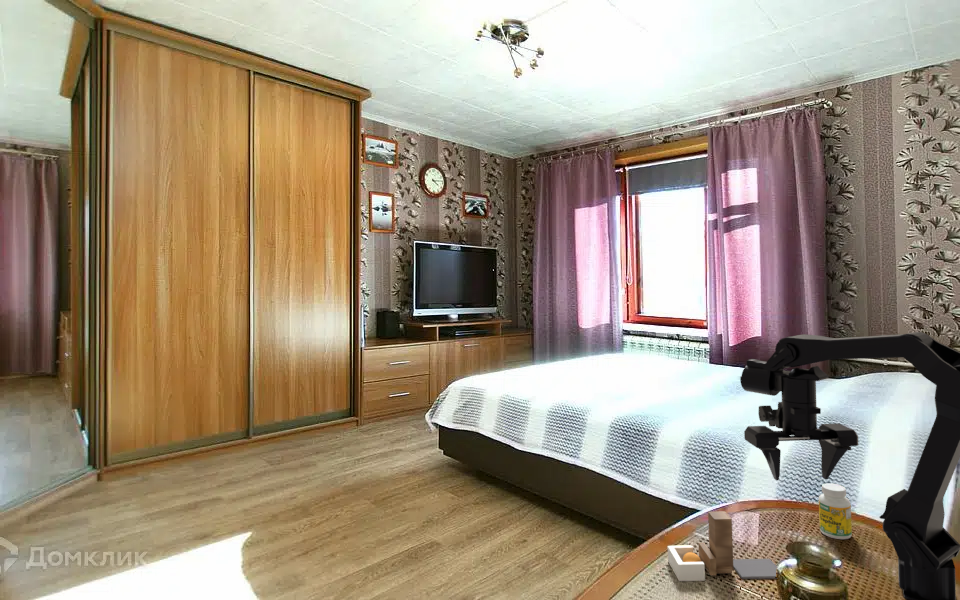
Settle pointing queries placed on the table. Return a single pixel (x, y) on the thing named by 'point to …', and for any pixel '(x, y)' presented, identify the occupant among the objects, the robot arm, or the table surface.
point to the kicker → (718, 544)
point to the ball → (691, 557)
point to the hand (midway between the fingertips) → (800, 479)
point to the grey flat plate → (755, 568)
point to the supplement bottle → (835, 512)
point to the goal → (685, 564)
